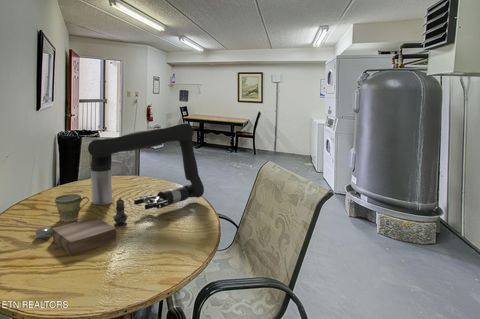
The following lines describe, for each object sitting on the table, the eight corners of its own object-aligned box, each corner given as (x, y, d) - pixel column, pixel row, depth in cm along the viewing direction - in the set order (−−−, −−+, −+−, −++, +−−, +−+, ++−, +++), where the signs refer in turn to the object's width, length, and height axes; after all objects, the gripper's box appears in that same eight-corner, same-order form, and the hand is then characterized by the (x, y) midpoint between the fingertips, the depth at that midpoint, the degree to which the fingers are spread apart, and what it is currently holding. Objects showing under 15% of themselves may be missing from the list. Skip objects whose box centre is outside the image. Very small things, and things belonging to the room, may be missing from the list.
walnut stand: (53, 241, 111) (52, 228, 110) (96, 228, 123) (95, 216, 122) (71, 256, 101) (70, 242, 100) (116, 240, 113) (116, 228, 113)
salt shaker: (115, 221, 131) (114, 195, 129) (129, 221, 132) (129, 195, 129) (111, 227, 125) (110, 199, 123) (125, 227, 126) (125, 199, 124)
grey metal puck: (34, 237, 114) (33, 229, 113) (48, 233, 118) (48, 226, 117) (38, 241, 111) (38, 233, 110) (53, 237, 114) (53, 229, 114)
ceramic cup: (55, 225, 125) (53, 202, 123) (57, 216, 134) (55, 195, 132) (90, 220, 131) (89, 198, 129) (89, 212, 140) (88, 192, 138)
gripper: (160, 186, 150) (130, 193, 138) (178, 193, 142) (149, 200, 129) (160, 201, 152) (131, 208, 139) (178, 208, 143) (149, 217, 131)
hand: (139, 204), depth 134 cm, fingers open, 8 cm apart
